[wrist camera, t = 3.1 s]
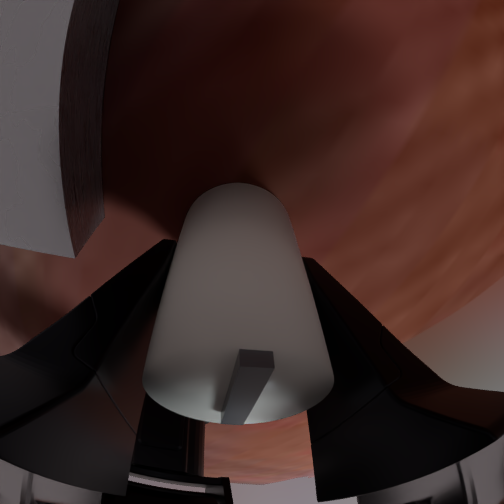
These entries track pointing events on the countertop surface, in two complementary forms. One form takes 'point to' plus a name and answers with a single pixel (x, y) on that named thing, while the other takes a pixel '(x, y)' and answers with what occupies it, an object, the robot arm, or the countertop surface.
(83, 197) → the plate
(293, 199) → the countertop surface
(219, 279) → the knob
